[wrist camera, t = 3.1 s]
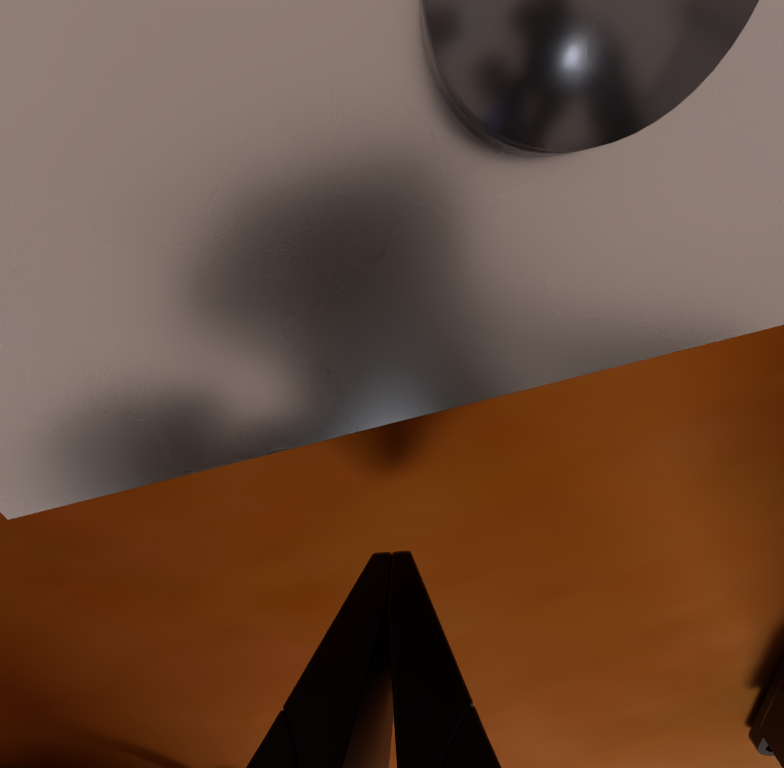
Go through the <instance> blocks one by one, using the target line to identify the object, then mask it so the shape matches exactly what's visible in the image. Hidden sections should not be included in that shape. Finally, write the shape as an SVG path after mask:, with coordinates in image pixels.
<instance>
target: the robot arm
mask: <svg viewBox="0 0 784 768" xmlns="http://www.w3.org/2000/svg"><path fill="white" fill-rule="evenodd" d="M283 709H284V711H283V710H282V711H280V712H279V714H278V716H277V718H276V719H275V721H274V723H273V724H272V726H271V728H270V730H269V731H268V733H267V735H266V736H265V738H264V740H263V741H262V743H261V744H260V746H259V748H258V749H257V751H256V752H255V754H254V756H253V757H252V759H251V761H250V762H249V764H248V765H247V767H246V768H389V757H390V746H391V736H392V725H393V714H394V726H395V741H396V756H397V768H501V766H500V764H499V761H498V759H497V757H496V755H495V752H494V750H493V748H492V746H491V743H490V741H489V739H488V737H487V734H486V732H485V730H484V728H483V725H482V723H481V720H480V718H479V715H478V713H477V711H476V708H475V707H474V706H473V701H472V699H471V697H470V694H469V692H468V689H467V687H466V684H465V682H464V680H463V677H462V675H461V672H460V670H459V668H458V665H457V663H456V660H455V658H454V655H453V653H452V651H451V648H450V646H449V643H448V641H447V638H446V636H445V634H444V631H443V629H442V626H441V624H440V622H439V619H438V617H437V614H436V612H435V609H434V607H433V605H432V602H431V600H430V597H429V595H428V592H427V590H426V588H425V585H424V583H423V580H422V578H421V576H420V573H419V571H418V568H417V566H416V563H415V561H414V559H413V556H412V554H411V552H410V551H398V552H393V554H391V553H390V552H382V553H374V554H373V555H372V556H371V558H370V559H369V561H368V563H367V565H366V566H365V568H364V570H363V571H362V573H361V575H360V576H359V578H358V580H357V582H356V583H355V585H354V587H353V588H352V590H351V592H350V593H349V595H348V597H347V599H346V600H345V602H344V604H343V605H342V607H341V609H340V611H339V612H338V614H337V616H336V617H335V619H334V621H333V622H332V624H331V626H330V628H329V629H328V631H327V633H326V634H325V636H324V638H323V640H322V641H321V643H320V645H319V646H318V648H317V650H316V651H315V653H314V655H313V657H312V658H311V660H310V662H309V663H308V665H307V667H306V669H305V670H304V672H303V674H302V675H301V677H300V679H299V680H298V682H297V684H296V686H295V687H294V689H293V691H292V692H291V694H290V696H289V697H288V699H287V701H286V703H285V704H284V706H283ZM749 738H750V740H751V741H752V743H753V744H754V746H755V748H756V749H757V751H758V752H759V753H760V754H763V755H768V756H775V757H776V758H777V760H778V761H779V763H780V764H781V766H782V767H783V768H784V657H783V660H782V662H781V664H780V666H779V668H778V671H777V673H776V675H775V677H774V679H773V682H772V684H771V686H770V688H769V690H768V692H767V695H766V697H765V699H764V701H763V703H762V706H761V708H760V710H759V712H758V714H757V717H756V719H755V721H754V723H753V725H752V728H751V730H750V732H749Z"/></svg>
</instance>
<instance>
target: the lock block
mask: <svg viewBox="0 0 784 768" xmlns="http://www.w3.org/2000/svg"><path fill="white" fill-rule="evenodd" d="M780 325H784V0H0V512H1V513H2V514H3V515H4V516H5V517H6V518H7V519H8V520H9V519H13V518H17V517H21V516H25V515H29V514H33V513H37V512H41V511H45V510H49V509H53V508H57V507H61V506H65V505H69V504H73V503H77V502H80V501H84V500H88V499H92V498H96V497H100V496H104V495H108V494H112V493H116V492H120V491H124V490H128V489H132V488H136V487H140V486H144V485H148V484H152V483H156V482H160V481H164V480H168V479H172V478H176V477H180V476H184V475H188V474H192V473H196V472H200V471H204V470H208V469H212V468H216V467H220V466H224V465H228V464H232V463H236V462H240V461H244V460H248V459H251V458H255V457H259V456H263V455H267V454H271V453H275V452H279V451H283V450H287V449H291V448H295V447H299V446H303V445H307V444H311V443H315V442H319V441H323V440H327V439H331V438H335V437H339V436H343V435H347V434H351V433H355V432H359V431H363V430H367V429H371V428H375V427H379V426H383V425H387V424H391V423H395V422H399V421H403V420H407V419H411V418H415V417H419V416H423V415H426V414H430V413H434V412H438V411H442V410H446V409H450V408H454V407H458V406H462V405H466V404H470V403H474V402H478V401H482V400H486V399H490V398H494V397H498V396H502V395H506V394H510V393H514V392H518V391H522V390H526V389H530V388H534V387H538V386H542V385H546V384H550V383H554V382H558V381H562V380H566V379H570V378H574V377H578V376H582V375H586V374H590V373H594V372H597V371H601V370H605V369H609V368H613V367H617V366H621V365H625V364H629V363H633V362H637V361H641V360H645V359H649V358H653V357H657V356H661V355H665V354H669V353H673V352H677V351H681V350H685V349H689V348H693V347H697V346H701V345H705V344H709V343H713V342H717V341H721V340H725V339H729V338H733V337H737V336H741V335H745V334H749V333H753V332H757V331H761V330H765V329H769V328H772V327H776V326H780Z"/></svg>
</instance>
